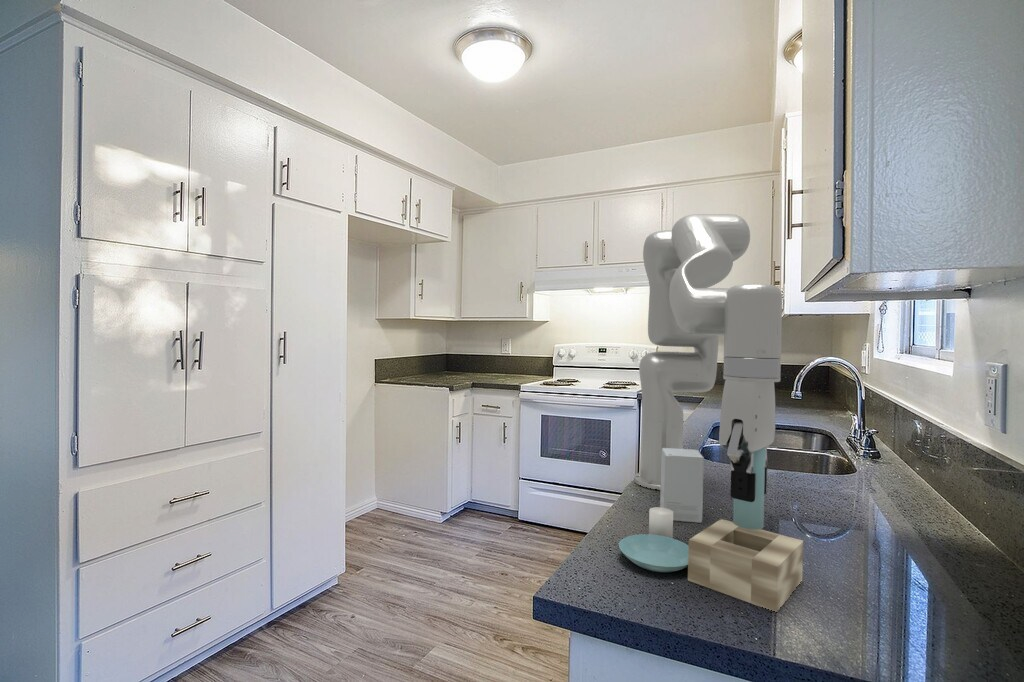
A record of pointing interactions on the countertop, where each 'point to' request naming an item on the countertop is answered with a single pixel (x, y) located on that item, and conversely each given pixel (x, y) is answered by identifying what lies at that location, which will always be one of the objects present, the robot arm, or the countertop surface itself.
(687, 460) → the supplement box
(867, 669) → the countertop surface
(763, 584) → the birch hole block
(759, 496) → the teal dowel
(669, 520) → the short off-white stub
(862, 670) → the countertop surface
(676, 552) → the saucer
